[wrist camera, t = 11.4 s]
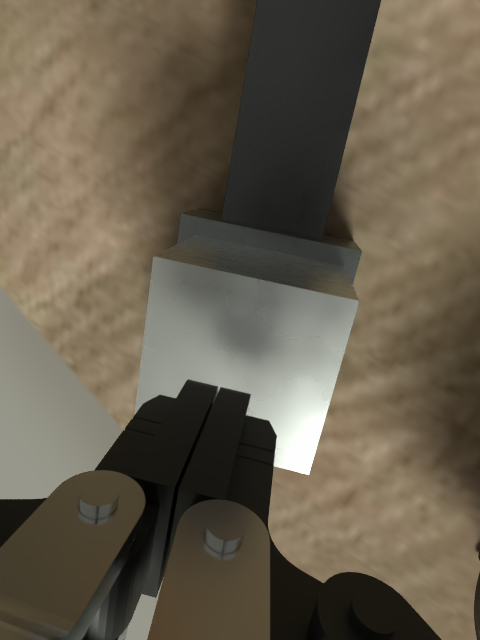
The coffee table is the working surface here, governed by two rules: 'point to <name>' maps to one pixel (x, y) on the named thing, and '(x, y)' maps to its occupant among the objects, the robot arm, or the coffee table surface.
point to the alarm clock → (477, 607)
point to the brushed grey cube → (250, 334)
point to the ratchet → (293, 130)
